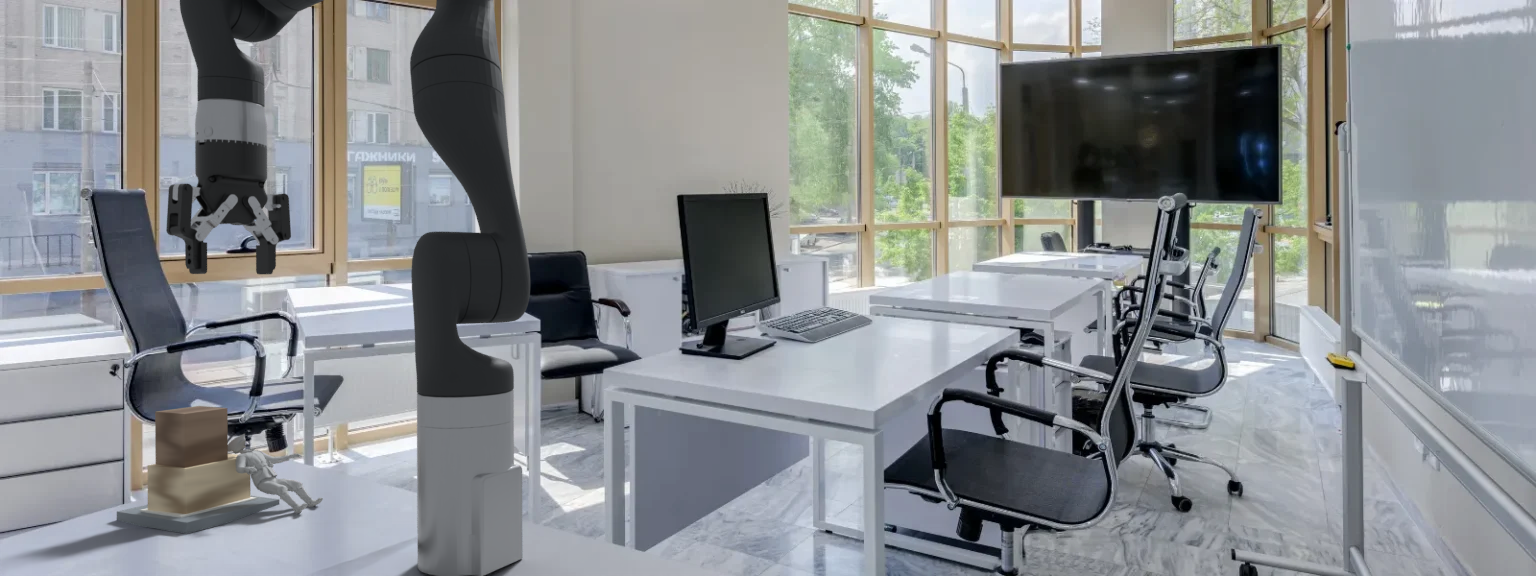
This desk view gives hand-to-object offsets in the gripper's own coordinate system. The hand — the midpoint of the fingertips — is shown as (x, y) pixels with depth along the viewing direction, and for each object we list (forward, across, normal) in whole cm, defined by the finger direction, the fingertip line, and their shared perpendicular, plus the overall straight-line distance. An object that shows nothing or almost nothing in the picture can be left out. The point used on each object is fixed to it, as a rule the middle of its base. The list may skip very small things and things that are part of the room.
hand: (232, 274), depth 107 cm
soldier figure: (+28, +1, +12) cm, 31 cm away
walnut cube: (+22, +6, +2) cm, 23 cm away
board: (+28, +6, +2) cm, 29 cm away
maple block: (+27, +6, +2) cm, 27 cm away
